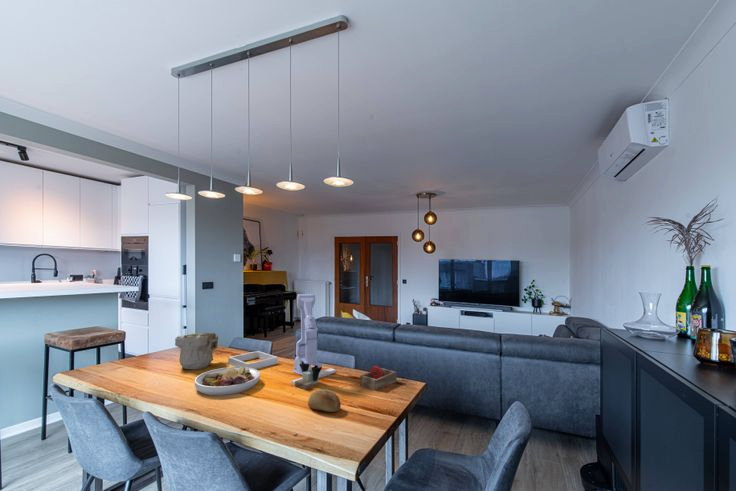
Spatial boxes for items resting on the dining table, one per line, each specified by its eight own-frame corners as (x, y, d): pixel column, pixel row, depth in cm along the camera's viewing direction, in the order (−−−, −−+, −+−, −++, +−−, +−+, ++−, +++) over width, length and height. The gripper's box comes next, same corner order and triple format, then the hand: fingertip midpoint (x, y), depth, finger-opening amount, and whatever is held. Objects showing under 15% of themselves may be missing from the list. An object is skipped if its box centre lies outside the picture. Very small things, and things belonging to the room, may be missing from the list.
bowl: (185, 385, 164) (185, 369, 164) (242, 372, 185) (243, 358, 186) (208, 404, 143) (209, 385, 144) (270, 386, 165) (271, 370, 165)
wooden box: (360, 385, 167) (360, 375, 167) (380, 377, 180) (380, 367, 181) (376, 390, 160) (376, 380, 161) (396, 381, 174) (396, 371, 174)
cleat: (294, 386, 165) (294, 381, 165) (301, 384, 168) (301, 379, 168) (305, 390, 159) (306, 385, 159) (312, 388, 162) (312, 383, 163)
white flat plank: (291, 383, 168) (291, 380, 168) (330, 370, 190) (330, 368, 190) (296, 385, 165) (296, 382, 165) (335, 372, 187) (335, 369, 187)
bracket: (366, 382, 171) (367, 367, 171) (369, 379, 175) (371, 364, 175) (387, 388, 166) (388, 373, 166) (390, 385, 170) (392, 370, 170)
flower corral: (228, 363, 199) (228, 357, 200) (257, 357, 215) (258, 350, 216) (247, 371, 186) (247, 364, 186) (277, 363, 202) (277, 356, 202)
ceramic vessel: (184, 345, 210) (209, 315, 209) (211, 371, 206) (236, 340, 206) (157, 353, 187) (185, 320, 187) (186, 383, 184) (215, 349, 183)
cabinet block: (302, 384, 168) (302, 372, 168) (312, 380, 173) (312, 369, 174) (308, 386, 165) (308, 374, 165) (318, 382, 171) (318, 370, 171)
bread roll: (334, 417, 132) (334, 397, 132) (302, 411, 137) (302, 391, 138) (344, 408, 141) (344, 389, 141) (314, 402, 146) (314, 384, 147)
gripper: (295, 351, 172) (295, 377, 171) (314, 356, 162) (314, 384, 162) (306, 348, 177) (305, 374, 176) (325, 353, 168) (324, 380, 167)
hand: (310, 378), depth 169 cm, fingers open, 7 cm apart
